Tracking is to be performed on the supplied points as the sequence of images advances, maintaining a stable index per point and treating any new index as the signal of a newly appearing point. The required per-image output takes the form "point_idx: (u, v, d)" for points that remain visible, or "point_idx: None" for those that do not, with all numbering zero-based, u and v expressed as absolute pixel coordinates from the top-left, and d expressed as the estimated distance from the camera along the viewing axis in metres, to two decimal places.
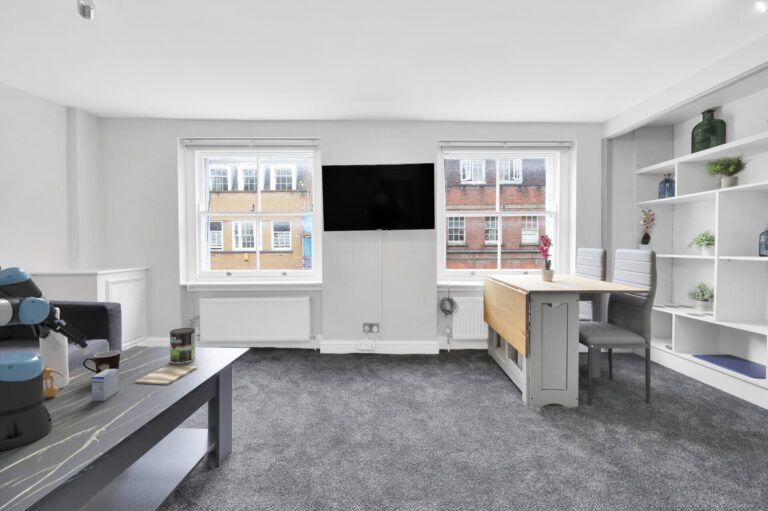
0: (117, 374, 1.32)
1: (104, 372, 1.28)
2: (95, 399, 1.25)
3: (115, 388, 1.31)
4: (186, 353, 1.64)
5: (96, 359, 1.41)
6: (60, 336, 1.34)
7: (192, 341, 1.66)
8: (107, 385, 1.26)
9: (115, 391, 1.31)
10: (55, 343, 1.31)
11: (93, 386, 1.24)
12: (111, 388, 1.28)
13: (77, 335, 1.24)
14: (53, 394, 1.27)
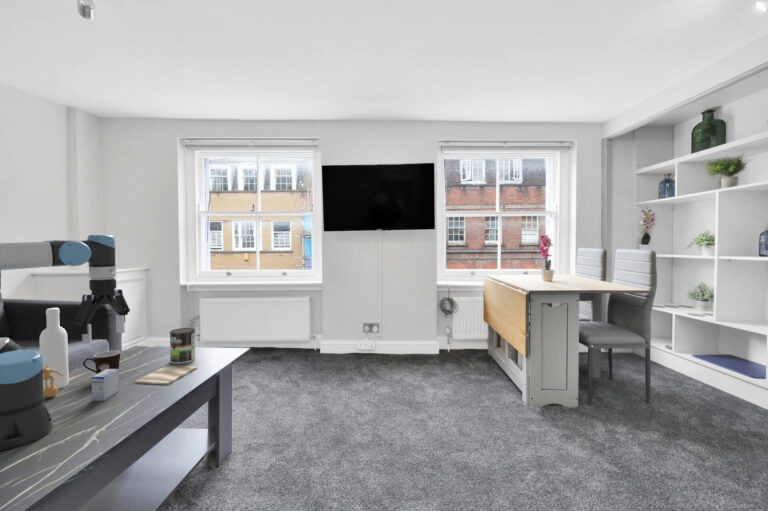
0: (117, 374, 1.32)
1: (104, 372, 1.28)
2: (95, 399, 1.25)
3: (115, 388, 1.31)
4: (186, 353, 1.64)
5: (96, 359, 1.41)
6: (60, 336, 1.34)
7: (192, 341, 1.66)
8: (107, 385, 1.26)
9: (115, 391, 1.31)
10: (120, 326, 1.34)
11: (93, 386, 1.24)
12: (111, 388, 1.28)
13: (78, 315, 1.18)
14: (53, 394, 1.27)
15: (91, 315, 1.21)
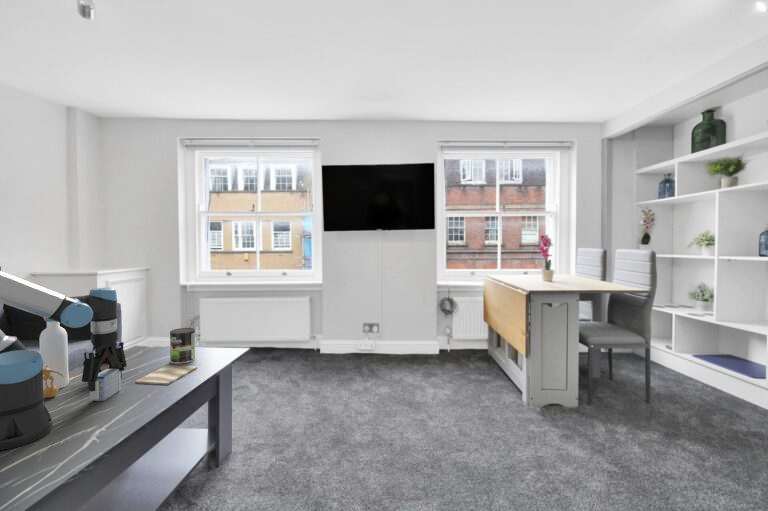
0: (117, 374, 1.32)
1: (104, 372, 1.28)
2: None
3: (115, 388, 1.31)
4: (186, 353, 1.64)
5: None
6: (60, 336, 1.34)
7: (192, 341, 1.66)
8: (107, 385, 1.26)
9: (115, 391, 1.31)
10: None
11: None
12: (111, 388, 1.28)
13: (85, 374, 1.21)
14: (53, 394, 1.27)
15: (97, 371, 1.24)
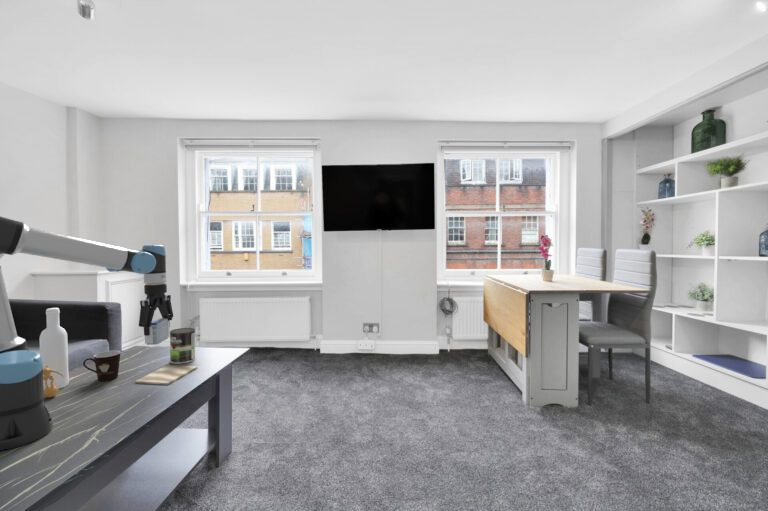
0: (166, 323, 1.47)
1: (156, 320, 1.43)
2: (149, 343, 1.40)
3: (165, 335, 1.46)
4: (186, 353, 1.64)
5: (96, 359, 1.41)
6: (60, 336, 1.34)
7: (192, 341, 1.66)
8: (159, 330, 1.41)
9: (165, 338, 1.46)
10: None
11: None
12: (162, 334, 1.43)
13: (141, 319, 1.36)
14: (53, 394, 1.27)
15: (151, 318, 1.39)
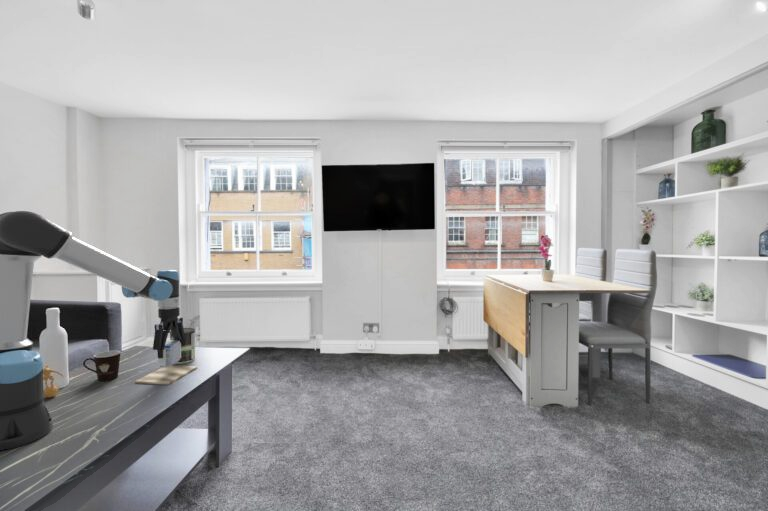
0: (178, 345, 1.51)
1: (168, 342, 1.48)
2: None
3: (177, 357, 1.50)
4: (186, 353, 1.64)
5: (96, 359, 1.41)
6: (60, 336, 1.34)
7: (192, 341, 1.66)
8: (172, 353, 1.46)
9: (177, 359, 1.50)
10: None
11: None
12: (174, 356, 1.48)
13: (155, 343, 1.41)
14: (53, 394, 1.27)
15: (164, 341, 1.43)
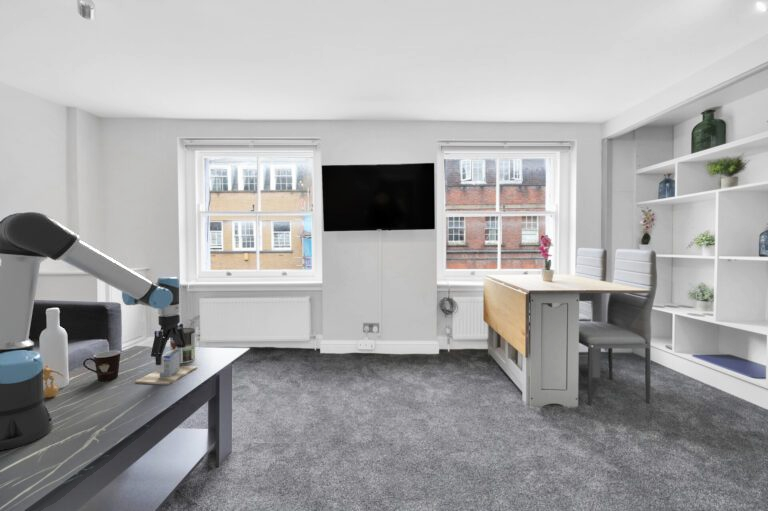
0: (178, 355, 1.51)
1: (168, 352, 1.48)
2: (162, 375, 1.45)
3: (177, 367, 1.50)
4: (186, 353, 1.64)
5: (96, 359, 1.41)
6: (59, 336, 1.34)
7: (192, 341, 1.66)
8: (172, 363, 1.46)
9: (177, 369, 1.51)
10: None
11: None
12: (174, 366, 1.48)
13: (154, 349, 1.40)
14: (53, 394, 1.27)
15: (163, 348, 1.43)
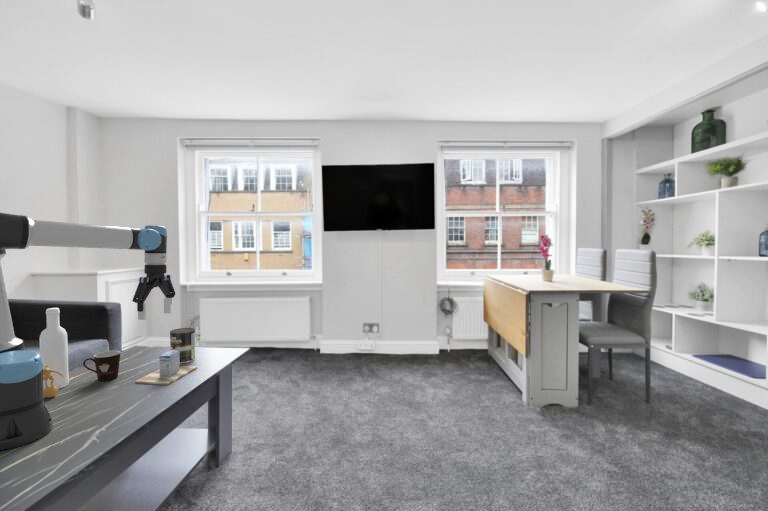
0: (178, 355, 1.51)
1: (168, 352, 1.48)
2: (162, 375, 1.45)
3: (177, 367, 1.50)
4: (186, 353, 1.64)
5: (96, 359, 1.41)
6: (60, 336, 1.34)
7: (192, 341, 1.66)
8: (172, 363, 1.46)
9: (177, 369, 1.51)
10: (167, 307, 1.51)
11: (161, 364, 1.44)
12: (174, 366, 1.48)
13: (136, 294, 1.36)
14: (53, 394, 1.27)
15: (146, 295, 1.39)
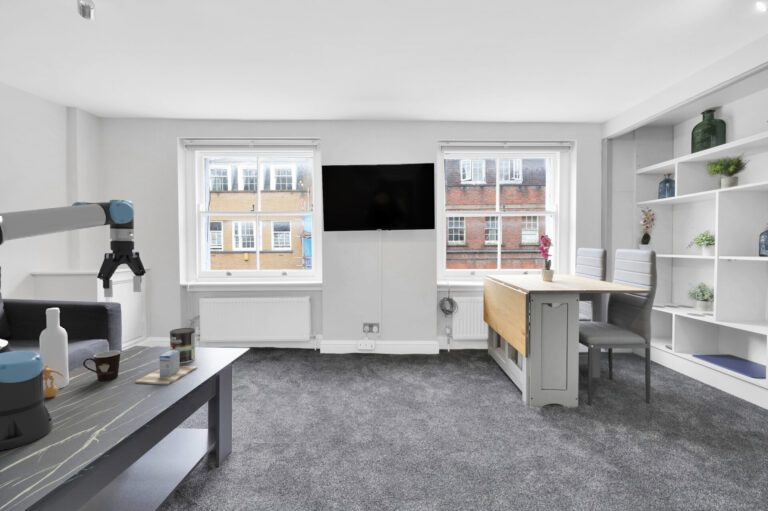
0: (178, 355, 1.51)
1: (168, 352, 1.48)
2: (162, 375, 1.45)
3: (177, 367, 1.50)
4: (186, 353, 1.64)
5: (96, 359, 1.41)
6: (60, 336, 1.34)
7: (192, 341, 1.66)
8: (172, 363, 1.46)
9: (177, 369, 1.51)
10: (137, 285, 1.47)
11: (161, 364, 1.44)
12: (174, 366, 1.48)
13: (101, 271, 1.31)
14: (53, 394, 1.27)
15: (112, 272, 1.34)
